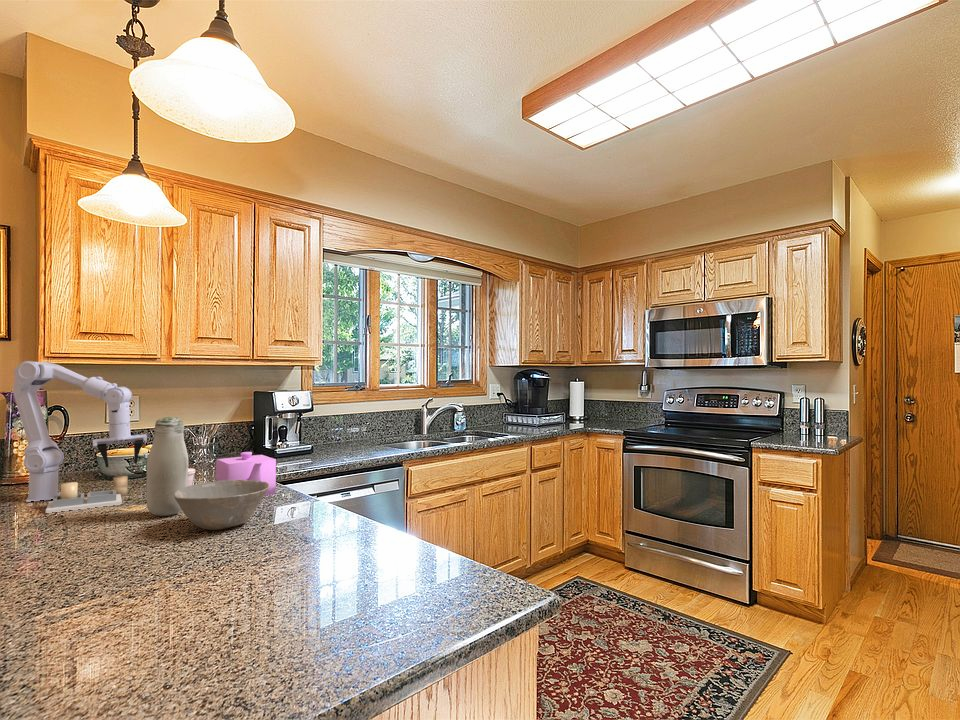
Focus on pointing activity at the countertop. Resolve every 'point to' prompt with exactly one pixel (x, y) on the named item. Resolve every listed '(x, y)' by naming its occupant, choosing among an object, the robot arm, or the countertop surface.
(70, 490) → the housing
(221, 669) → the countertop surface
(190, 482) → the smoothie
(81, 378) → the robot arm
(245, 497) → the ceramic bowl
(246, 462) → the teapot
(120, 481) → the jaw peg
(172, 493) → the glass bottle
